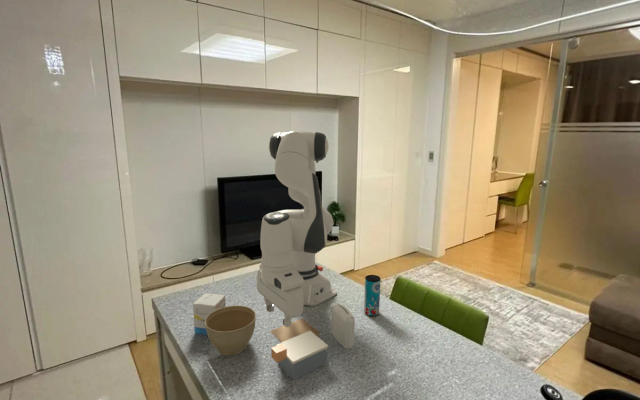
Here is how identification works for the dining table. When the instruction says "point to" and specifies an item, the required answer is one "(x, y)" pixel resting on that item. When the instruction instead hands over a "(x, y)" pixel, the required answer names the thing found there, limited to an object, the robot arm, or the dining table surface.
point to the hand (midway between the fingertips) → (278, 317)
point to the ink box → (206, 310)
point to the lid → (298, 348)
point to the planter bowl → (230, 328)
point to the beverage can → (372, 295)
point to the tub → (304, 364)
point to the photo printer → (343, 325)
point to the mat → (293, 330)
